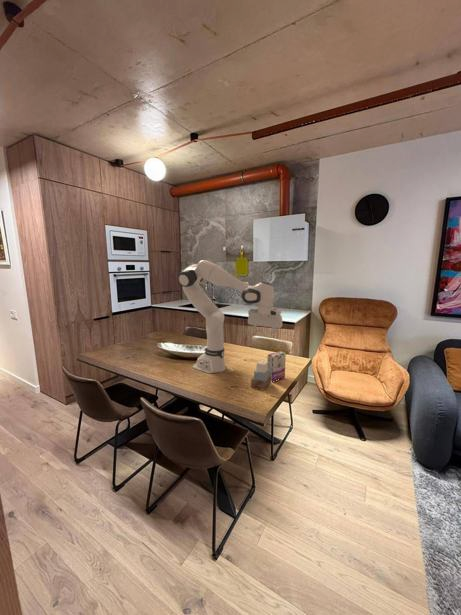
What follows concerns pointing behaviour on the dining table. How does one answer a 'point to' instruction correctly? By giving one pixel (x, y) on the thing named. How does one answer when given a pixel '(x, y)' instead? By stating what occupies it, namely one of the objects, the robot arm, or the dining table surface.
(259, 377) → the grey square block
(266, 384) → the tan wooden block
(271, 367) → the candy bar box
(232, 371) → the dining table surface
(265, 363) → the cream cube
